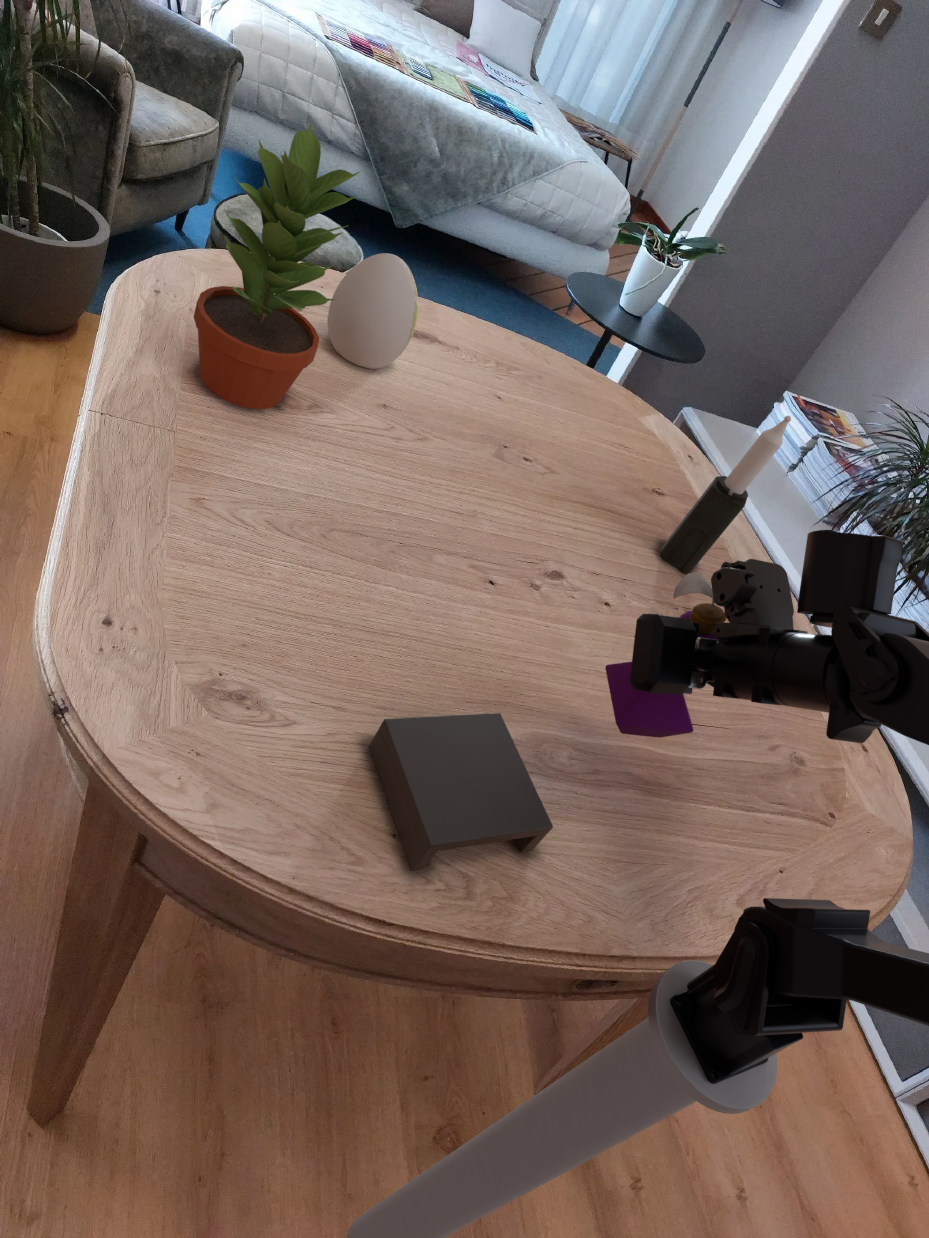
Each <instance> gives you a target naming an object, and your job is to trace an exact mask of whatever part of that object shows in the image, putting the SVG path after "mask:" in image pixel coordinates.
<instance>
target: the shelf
mask: <svg viewBox="0 0 929 1238" xmlns="http://www.w3.org/2000/svg"><path fill="white" fill-rule="evenodd" d="M368 748H369V750H370V754H371V757H372V759H373V762H374V763H373V764H374V766H375V768H376V769H375V770H376V772H377V774H378V777H379V780H380V783H381V786H382V789H383V792H384V794H385V797H386V800H387V803H388V806H389V809H390V812H391V815H392V818H393V820H394V823H395V826H396V829H397V832H398V835H399V838H400V840H401V844H402V847H403V850H404V853H405V855H406V858H407V861H408V864H409V866H410V870H411V871H416V870H422V869H425V868H426V867H427V866H428V864H429V863H430V862H431V861H432V859H433V858H434V857H435V855H436V854H437V853H438V852H441V851H448V850H454V849H459V848H467V847H474V846H479V845H480V846H481V845H486V844H492V843H499V842H506V841H513V840H515V842H516V844H517V846H518V848H519V851H520V852H521V853H525V852H531V851H533V850H534V849H535V848H536V847H537V845H539V844H540V843H541V842H542V840H543V839H544V838H545V837H546V836H547V835H548V834H549V833H550V832H551V831H552V830H553V828H554V825H553V823H552V821H551V819H550V817H549V814H548V813H547V811H546V808H545V806H544V804H543V802H542V800H541V797H540V795H539V793H538V790H537V789H536V787H535V785H534V782H533V780H532V779H531V776H530V774H529V772H528V770H527V768H526V765H525V763H524V762H523V758H522V757H521V755H520V753H519V751H518V748H517V746H516V744H515V742H514V740H513V737H512V736H511V733H510V731H509V729H508V727H507V724H506V722H505V720H504V718H503V716H502V714H501V712H489V713H488V712H487V713H471V714H451V715H450V714H449V715H434V716H433V715H432V716H416V717H415V716H414V717H395V718H393V717H392V718H384V719H383V720H382V722H381V724H380V725H379V727H378V730H377V731H376V732H375V734H374V736H373V738H372V740H371V741H370V743H369V744H368Z"/></svg>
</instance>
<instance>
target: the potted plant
mask: <svg viewBox="0 0 929 1238" xmlns="http://www.w3.org/2000/svg"><path fill="white" fill-rule="evenodd" d="M312 125H313V123H312V122H310V124H309V125H308V127H307V129H306V130H299V131H296V133H294V135H293V138H292V140H291V144H290V148H289V153H287V151H286V150H285V149H283V150H284V153H283V154H280V156H281V159H280V158H279V157H278V156H277V155H276V154H275V153H274V152H272V151H269V150H268V149H267V148H264V146H263V144H262V143H261V140H260V139H259V138H258V139H257V140H258V146H259V149H258V150H257V155H258V158H259V161H260V163H261V164H260V165H261V166H262V169H263V172H264V175H265V177H266V179H265V177H264V178H263V185H262V186H260V187H258V189H256V188H255V187H254V186H252V185H251V184H250V183H247V182H241V183H240V182H239V181H238V179H237V178H236V177H235V176H233V178H234V180H235V181H236V182H237V183H238V185H239V186H240V187H241V189H242V190H243V192H245V194H246V195H247V196H248V197H249V199H251V201H252V202H253V203H254V205H255V206H256V207H257V208H258V209H259V211H260V215H261V216H260V217H261V222H262V230H261V239H260V238H259V236H258V235H257V234H256V233H255V231H254V230H253V228H251V227H250V226H249V225H248V224H247V223H246V221H243V220H242V219H240V218H236V217H231V216H230V215H229V213H228V212H227V211H226V210H225V209H224V212H225V214H226V216H227V217H228V219H229V221H230V224H232V226H233V227H234V229H235V230H236V232H237V234H238V235H239V237H240V238H241V239H242V241H243V243H244V244H245V245H246V247H245V246H244V245H241V244H238V243H234V242H232V241H230V240H229V239H228V238H227V237H226V236H225V235H223V237H224V240H225V242H226V245H225V248H226V249H227V252H228V254H229V255H230V256H231V257H232V259H233V260H234V262H235V264H236V265H237V267H238V268H239V270H240V272H241V278H242V287H240V286H235V285H232V286H229V285H221V286H214V287H209V288H206V289H205V290H204V291H202V292H200V294H199V296H198V298H197V300H196V305H195V309H194V312H193V320H194V324H195V327H196V329H197V340H198V360H199V361H198V362H199V363H198V364H199V375H200V378H201V382H203V384H204V385H205V386H206V388H207V389H208V390H209V391H210V392H212V394H213V395H216V396H217V397H219V398H220V399H222V400H224V401H226V402H228V403H230V404H233V405H235V406H239V407H242V408H246V409H247V408H248V409H252V410H267V409H270V408H274V407H276V406H277V405H278V404H279V403H280V402H281V401H282V400H283V398H284V397H285V396H286V394H287V393H288V391H289V389H290V388H291V387H292V385H293V384H294V383H295V381H296V380H297V379H298V378H299V376H300V375H301V373H302V371H303V370H304V369H306V368H307V367H309V366H310V365H311V364H312V363H313V362H314V360H315V357H316V354H317V351H318V348H319V344H320V337H319V335H318V333H317V330H316V327H314V325H312V324H311V322H310V321H309V320H308V319H307V318H306V317H305V316H304V315H302V314H301V313H300V312H299V311H302V312H303V309H305V308H306V307H315V306H323V305H325V304H327V303H328V302H331V300H336V299H332V298H328V297H326V296H325V295H324V294H323V293H321V292H319V291H317V290H312V289H296V288H298V287H301V286H304V285H306V284H308V283H311V282H313V281H316V280H319V279H321V278H322V277H324V276H325V275H326V271H327V270H328V269H330V268H331V266H325V267H323V266H321V265H318V264H316V263H314V262H311V261H302V260H304V259H305V258H306V257H308V256H310V255H311V254H313V253H314V252H315V251H317V250H318V249H319V248H320V247H322V245H324V244H327V243H329V242H332V241H334V240H335V239H337V237H339V236H340V235H342V234H343V233H344V232H343V231H342V232H339V233H338V232H337V233H333V232H334V231H337V230H340V229H344V228H346V227H348V225H345V226H337V227H334V228H330V229H326V228H323V227H315V228H310V229H308V230H304V229H305V227H306V220H307V219H309V218H311V217H314V216H317V215H319V214H322V213H324V212H327V211H329V210H331V209H334V208H336V207H339V206H341V205H344V204H346V203H348V202H349V201H351V200H353V199H355V198H357V197H358V195H356V196H351V197H347V196H345V195H344V194H342V193H340V192H336V191H333V192H331V190H333V189H335V188H336V187H338V186H340V185H341V184H343V183H345V182H347V181H349V180H350V179H352V178H354V177H355V176H357V175H358V174H360V173H362V170H360V171H358V172H356V173H351V172H349V171H347V170H345V169H335V170H332V171H329V172H327V173H325V174H323V175H321V176H319V177H318V173H319V168H320V163H321V154H322V152H321V151H322V150H321V147H322V146H321V142H320V140H319V138H317V137H316V135H315V134H314V133H313V132H312V131H313V130H312ZM266 180H267V181H266ZM268 186H269V187H268ZM300 261H302V262H300ZM293 289H294V290H293ZM297 310H298V311H297Z"/></svg>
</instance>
